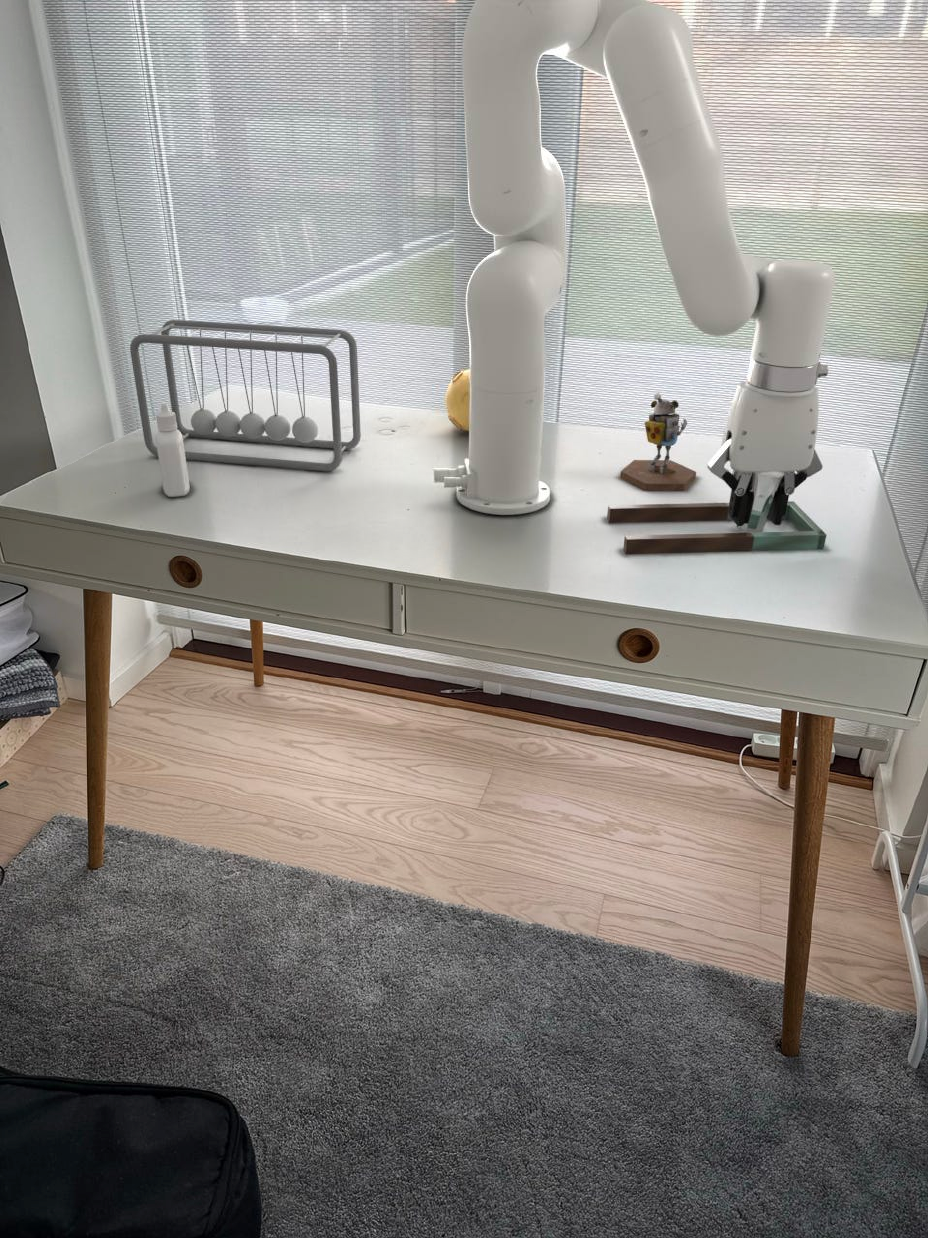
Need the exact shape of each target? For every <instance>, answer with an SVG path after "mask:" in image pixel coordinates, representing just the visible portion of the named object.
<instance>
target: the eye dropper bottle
mask: <svg viewBox="0 0 928 1238" xmlns="http://www.w3.org/2000/svg"><path fill="white" fill-rule="evenodd" d="M155 418H156V424H157V429H158V430H157V432H156V435H155V443H156V447H157V451H158V456H157V457H158V463H159V471H160V476H161V482H162V488H163V492H164V494H165V495H166V496H167V497H170V498H177V497H184V496H187V494H188V493H189V492H190V489H191V486H190V479H189V472H188V465H187V459H186V457H185V452H186V450H185V443H184V439H183V435H182V434H181V432H180V431H179V430H178V429H177V422H176V415H175V413H174V412H172V410H170V408H169V405H168V403H167V402H162V403H161V404H160V411H159V412H157V413H156V414H155Z"/></svg>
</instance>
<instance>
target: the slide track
mask: <svg viewBox="0 0 928 1238" xmlns="http://www.w3.org/2000/svg"><path fill="white" fill-rule="evenodd" d="M728 508H729V502H699V503H698V502H697V503H695V502H694V503H692V502H691V503H653V504H652V503H650V504H649V503H647V504H646V503H645V504H608V505H607V514H606V521H607V522H608V524H625V523H629V524H633V523H669V522H670V523H672V522H673V523H674V522H713V521H714V522H717V521H719V522H720V521H721V522H722V521H733V520H732V519H731V517H730V516H729V514H728ZM812 519H813V518H811V517H810V516H809V515H808V514H807V513H806V512H805V511H804V510H803V509H802V508H801V507H800V506H799V505H798V504H797V503H796V502H795V501H793V500H792V501H791V500H790V501H789V500H788V503H787V508H786V513H785V516H782V520H788V522H789V523H790V524H791V525H792V526H793V527H794V528H795V529H796V531H763V532H753V533H751V532H749V533H744V532H713V533H712V532H710V533H670V534H669V533H667V534H630V535H629V534H628V535H627V534H626V535H624V540H623V549H622V552H623V553H624V555H657V554H658V555H659V554H660V555H661V554H663V555H664V554H665V555H666V554H699V553H706V554H707V553H741V552H742V553H743V552H745V553H746V552H775V551H776V552H777V551H779V552H780V551H816V550H817V551H819V550H824V549H825V544H826V539H827V534H826V532H825V531H824V530H823V529H822V528H821V527H820V526H819V525H818V524H817V523H816V522H815V521H814V520H812ZM767 520H770V519H769V518H768V519H767Z"/></svg>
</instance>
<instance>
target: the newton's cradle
mask: <svg viewBox="0 0 928 1238" xmlns="http://www.w3.org/2000/svg"><path fill="white" fill-rule="evenodd" d="M172 329H177V330H194V332H191V333H190V334H188V335H172V334H170V331H171V330H172ZM202 331H209V332H220V333H218V334H217V335H215V336H213V337H205V336H202ZM197 332H199V336H191V335H193V334H195V333H197ZM227 333H241V334H242V333H243V334H245V335H243V336H242V337H240V338H238V339H237V338H227ZM221 334H224V338H220V337H218V336H220V335H221ZM252 334H259V335H272V336H270V337H269V338H267V339H265V340H254V339H253V340H252ZM248 335H249V339H244V337H246V336H248ZM274 336H275V341H270V339H271V338H273V337H274ZM278 336H293V337H297V338H295V339H294V340H293V341H291V342H283V341H278V338H277V337H278ZM303 337H306V338H324V339H329V340H328V341H326V342H325V343H324V344H315V343H304V342H303ZM298 339H300V340H301V342H300V343H299V342H295V341H297V340H298ZM337 339H342V340H344V341H346V343H347V345H348V353H349V355H348V356H349V373H350V391H351V392H350V394H351V417H352V418H351V420H352V439H351V440H349V441H342V429H341V412H340V392H339V374H338V373H339V371H338V360H337V357H336V355H335V353H334V352H333V351H332V350H331V349H330V348H328V346H329V345H330V344H331V343H333V342H335V340H337ZM142 344H157V345H162V350H163V352H162V353H163V357H164V358H163V359H164V365H165V373H166V379H167V387H168V393H169V400H170V407H171V411H172V412H174V413H175V415H176V422H177V429H178V430H179V431H180V432H181V434H182V437H183V440H185V439H186V438H197V439H207V440H208V439H210V440H222V441H234V442H244V443H245V442H248V443H259V444H271V445H282V446H283V445H285V446H296V447H308V448H322V449H332V450H333V458H332V459H330V460H329V462H327V463H326V462H315V461H303V460H291V459H278V458H267V457H255V456H254V457H253V456H245V455H243V456H242V455H232V454H220V453H219V454H218V453H209V452H208V453H206V452H195V451H185V457H186V461H187V460H188V461H189V460H190V461H199V462H211V463H212V462H213V463H222V464H223V463H224V464H235V465H247V466H260V467H272V468H282V469H293V470H294V469H296V470H305V471H306V470H307V471H318V472H332V471H334V470H336V469H338V468H339V467H340V465H341V463H342V460H343V452H344V451H345V450H346V451H347V450H352V449H354V448H356V447H357V446H358V445H359V443H360V441H361V437H362V434H361V433H362V431H361V411H360V409H361V407H360V388H359V383H360V382H359V363H358V362H359V361H358V345H357V341H356V339H355V337H354V336H353V335H352V334H351V333H350V332H349V331H347V330H343V329H335V328H319V327H317V328H316V327H300V326H283V325H269V324H266V325H265V324H251V323H233V322H217V321H202V320H201V321H200V320H184V319H169V320H167V321H166V322H164V324H163V325H162V327H161V328H159V329H158V330H155V331H153V332H151V333H150V334H143V333H142V334H138V335H136V336H134V337H133V339H131V341H130V345H129V352H130V359H131V365H132V371H133V378H134V384H135V389H136V396H137V404H138V409H139V416H140V422H141V429H142V435H143V440H144V444H145V447H146V449H147V450H148V451H149V452H150V453H151V454H152V455H154V456H156V457H158V451H157V445H155V444H154V441H153V434H152V429H151V422H150V415H149V409H148V403H147V396H146V390H145V383H144V377H143V370H142V369H143V368H142V363H141V358H140V351H139V350H140V349H139V348H140V345H142ZM171 345H174V346H186V350H187V353H188V359H189V363H190V367H191V372H192V376H193V381H194V386H195V390H196V394H197V399H198V404H199V408H200V409H198V410H196V411H194V413H193V414H192V416H191V418H190V424H191V428H192V429H188V428H186V427H185V426H184V425H183V423H182V420H181V413H180V404H179V396H178V391H177V390H178V389H177V383H176V376H175V368H174V361H173V354H172V353H173V352H172V347H171ZM189 347H199V348H200V349H199V350H200V371H201V394H202V398H201V399H202V405H201V400H200V396H199V395H200V394H199V391H198V386H197V382H196V377H195V373H194V368H193V363H192V359H191V355H190V350H189ZM203 347H204V348H211V350H212V354H213V359H214V364H215V368H216V369H215V370H216V372H217V378H218V384H219V387H220V393H221V399H222V404H223V408H224V411H222V412H220V413H219V414H218V415H217V416H216V415H215V413H213V412H212V411H211V410H209V409H206V408H205V399H204V398H205V397H204V375H203V373H204V372H203V350H202V349H203ZM214 348H219V349H225V351H224V352H225V381H226V382H225V384H226V385H225V386H226V404H225V397H224V393H223V388H222V384H221V383H222V382H221V378H220V373H219V367H218V363H217V359H216V355H215V349H214ZM227 349H235V350H236V349H237V351H238V357H239V361H240V367H241V372H242V378H243V379H242V380H243V383H244V389H245V394H246V399H247V406H248V410H249V413H246V414H244V415H243V416H242V417H241V419H240V417H239V415H238V414H236V413H235V412H234V411H231V410H229V386H228V358H227V357H228V356H227V354H228V353H227ZM240 350H250V351H249V353H250V388H251V389H250V390H251V394H250V395H251V396H250V397H251V405H250V399H249V395H248V389H247V385H246V379H245V374H244V369H243V368H244V367H243V362H242V357H241V351H240ZM252 350H253V351H263V353H264V360H265V364H266V371H267V377H268V383H269V388H270V395H271V401H272V406H273V413H274V414H273V415H271V416H269V417H268V418H266V420H265V419H264V418H263V417H262V416H261V415H260V414H258V413H256V412H254V400H253V399H254V397H253V358H252V356H253V353H252ZM266 351H268V352H275V389H276V391H275V393H276V396H275V397H276V405H275V400H274V396H273V389H272V382H271V378H270V377H271V376H270V370H269V364H268V359H267V353H266ZM278 352H281V353H282V352H283V353H290V356H291V361H292V367H293V374H294V379H295V384H296V389H297V396H298V402H299V407H300V412H301V417H298V418H296V420H295V421H294V422H293V423H292V427H291V424H290V421H289V419H287V418H286V417H285V416H284V415H281V414H279V408H278V407H279V406H278V405H279V403H278V402H279V401H278V400H279V399H278ZM293 353H298V354H301V362H302V363H301V369H302V371H301V372H302V395H303V396H302V399H303V401H301V395H300V391H299V386H298V385H299V384H298V379H297V374H296V368H295V362H294V357H293ZM304 354H313V355H314V354H315V355H322V356H323V357H325V358H326V359H327V362H328V374H329V390H330V392H329V395H330V409H331V425H332V426H331V429H332V440H325V439H317V436H318V434H319V427H318V424H317V423H316V421H315V420H314V419H313V418H311V417H308V416H306V403H305V401H306V399H305V379H304V378H305V372H304V371H305V370H304ZM302 403H303V406H302ZM275 406H276V408H275ZM215 430H216V431H215ZM239 432H241V433H239ZM290 433H292V436H293V437H289V435H290ZM264 434H266V435H264Z"/></svg>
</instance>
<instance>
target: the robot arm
mask: <svg viewBox="0 0 928 1238" xmlns="http://www.w3.org/2000/svg"><path fill="white" fill-rule="evenodd" d="M543 55H552V56H555V57H558V58H561V59H563V60H565V61H568V62H570V63H572V64H574V65H576V66H578V67H580V68H583V69H585V70H587V71H588V72H591V73H594V74H595V75H597V76H600V77H602V78H604V79H607V80H608V82H609V86H610V89H611V91H612V94H613V96H614V101H615V102H616V105H617V107H618V111H619V113H620V116H621V119H622V121H623V125H624V128H625V130H626V133H627V135H628V139H629V141H630V144H631V147H632V150H633V152H634V155H635V158H636V161H637V164H638V166H639V169H640V172H641V175H642V179H643V181H644V184H645V189H646V194H647V199H648V204H649V206H650V209H651V213H652V215H653V219H654V223H655V227H656V231H657V235H658V238H659V242H660V245H661V249H662V252H663V255H664V258H665V262H666V265H667V268H668V270H669V271H668V272H669V273H670V276H671V279H672V282H673V284H674V287H675V290H676V292H677V295H678V298H679V301H680V303H681V306H682V309H683V311H684V313H685V315H686V318H687V319H688V320H689V322H690V323H691V324H692V325H693V327H694V328H696V329H697V330H698V331H700V332H702V333H703V334H706V335H707V336H708V335H709V336H713V337H724V336H729V335H731V334H734V333H735V332H737V331H739V330H741V329H742V328H743V327H744V326H745V325H746V324H748V322H749V321H750V320H754V322H755V327H754V333H753V340H752V345H751V352H750V358H749V363H748V370H747V376H746V381H741V382H738V385H737V387H736V390H735V393H734V395H733V399H732V401H731V404H730V407H729V411H728V413H727V417H726V422H725V425H724V431H723V434H722V439H721V443H720V449H719V450H718V451H717V452H716V454H715V455H713V457H712V458H711V459H710V460H709V462H708V463H707V465H706V467H707V469H708V470H709V471H710V473H712V474H713V475H715V476H716V477H718V479H720V480H722V481H723V482H724V483H725V484H726V485H727V486H728V487H729V488H730V489H731V490H730V495H729V496H730V497H729V502H728V503H729V508H728V514H729V516H730V517H731V519H732V520H731V521H733V522H734V524H735V526H736V525H737V526H742V525H744V521H745V516H746V510H747V504H748V496H747V495H746V489H747V486H748V483H749V481H750V478H751V475H752V473H753V472H766V471H778V472H784V473H785V474H784V478H783V480H782V483H781V485H780V488H779V490H778V492H777V495H776V497H775V500H774V503H773V505H772V508H771V511H770V513H769V516H768V518H769V519H768V520H770V522H771V523H772V524H773V525H774V526H781V525H782V520H783V519H782V516H785V513H786V508H787V503H788V501H789V498H790V496H791V495H793V494H794V493H795V489H796V488H798V487H799V486H800V485H802V484H803V483H804V482H805V481H806V480H807V478H810V477H812V476H814V475H815V474H817V473H818V472H821V471H822V470H823V467H824V466H823V464H822V461H821V459H820V457H819V455H818V453H817V451H816V449H815V448H816V441H817V434H818V433H817V432H818V425H819V411H820V408H819V406H820V405H819V404H820V403H819V401H820V400H819V397H820V396H819V388H818V387H816V385H817V384H818V383H817V381H818V379H819V378H825V377H827V376H828V374H829V366H828V364H822V363H821V362H820V360H821V359H820V358H821V353H822V349H823V344H824V339H825V333H826V328H827V324H828V318H829V313H830V309H831V304H832V299H833V293H834V289H835V284H836V283H835V282H836V274H835V271H834V269H833V268H832V267H831V265H828V264H826V263H824V262H820V261H815V260H809V259H808V260H807V259H781V260H777V259H772V258H771V259H770V258H766V257H761V256H756V255H753V254H747V253H742V252H743V251H742V249H741V246H740V243H739V240H738V237H737V233H736V229H735V227H734V224H733V220H732V217H731V213H730V209H729V204H728V199H727V193H726V185H725V160H724V153H723V149H722V144H721V140H720V137H719V135H718V132H717V129H716V126H715V123H714V120H713V117H712V114H711V112H710V109H709V106H708V102H707V100H706V97H705V93H704V90H703V88H702V84H701V80H700V79H699V75H698V71H697V68H696V65H695V62H694V59H693V56H694V40H693V35H692V31H691V29H690V26H689V24H688V23H687V22H686V20H685V19H684V18H683V17H682V16H681V14H679V12H677V11H676V10H673V8H669V7H667V6H666V5H662V4H659V3H655V2H652V1H650V0H475V1H474V3H473V5H472V8H471V9H470V12H469V15H468V17H467V20H466V24H465V27H464V32H463V38H462V48H461V75H462V76H461V77H462V90H463V105H464V106H463V108H464V135H465V136H464V137H465V153H466V155H465V156H466V169H467V170H466V171H467V191H468V192H467V193H468V204H469V208H470V212H471V215H472V218H473V219H474V221H475V223H476V224H477V225H478V226H479V227H480V228H481V229H482V230H483V231H485V232H486V233H488V234H490V235H492V236H493V247H494V248H493V249H494V251H493V252H491V253H490V254H488V255H487V256H486V257H485V258H484V259H482V260H481V261H480V262H479V263H478V264H477V266H476V267H475V269H474V270H473V271H472V274H471V275H470V278H469V281H468V283H467V286H466V287H467V288H466V293H465V313H466V323H467V331H468V332H467V333H468V343H469V369H470V414H469V431H468V458H465V459H464V465H457V467H456V468H447V467H437V468H436V467H434V468H433V483H436V484H439V483H443V488H456V499H457V501H458V502H459V503H460V504H461V505H463V506H464V507H466V508H468V509H470V510H472V511H475V512H479V513H483V514H487V515H488V514H489V515H495V516H497V515H498V516H516V515H517V516H518V515H524V514H529V513H534V512H536V511H539V510H540V509H543V508H544V507H545V506H548V503H549V502H550V500H551V489H550V487H549V486H548V485H547V484H546V483H545V482H543V481H541V480H540V479H541V478H540V477H541V462H542V461H541V460H542V444H543V442H542V441H543V427H544V426H543V425H544V408H545V407H544V406H545V405H544V404H545V388H546V365H547V364H546V361H547V360H546V359H547V358H546V357H547V351H546V350H547V349H546V333H545V322H546V320H545V319H546V315H547V314H548V313H549V312H550V311H551V310H552V309H553V308H554V307H555V306H556V305H557V303H559V301H560V300H561V299H562V296H563V293H564V292H565V288H566V286H567V285H566V284H567V277H568V276H567V275H568V243H567V242H568V240H567V238H568V237H567V194H566V193H567V192H566V184H565V180H564V174H563V172H562V169H561V167H560V164H559V162H558V160H556V158H555V157H554V155H553V154H552V153H550V152H549V150H548V149H546V148H544V147H543V145H542V132H541V131H542V128H541V127H542V126H541V119H542V117H541V115H542V109H541V108H542V105H541V95H540V88H539V82H538V67H539V62H540V60H541V58H542V57H543ZM728 462H729V467H730V468H731V470H732V472H731V471H730V470H729V469H728V468H726V467H725V465H726V464H727V463H728Z"/></svg>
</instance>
